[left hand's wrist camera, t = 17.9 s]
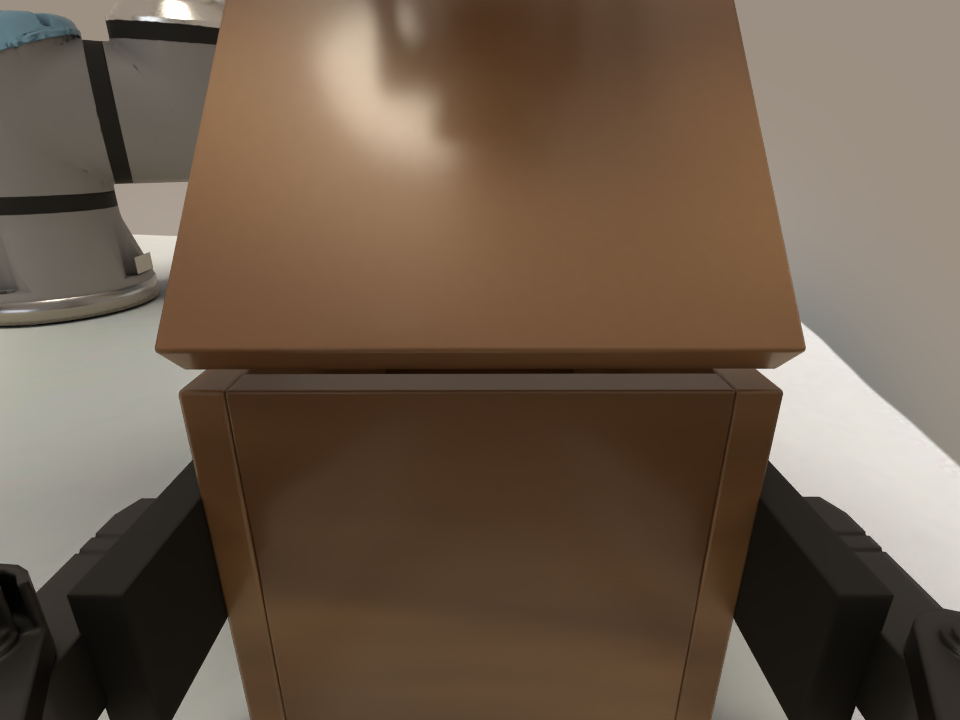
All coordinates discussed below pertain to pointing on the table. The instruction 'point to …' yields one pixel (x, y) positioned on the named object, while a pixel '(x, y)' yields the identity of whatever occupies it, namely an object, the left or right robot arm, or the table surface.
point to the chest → (480, 536)
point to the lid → (480, 191)
